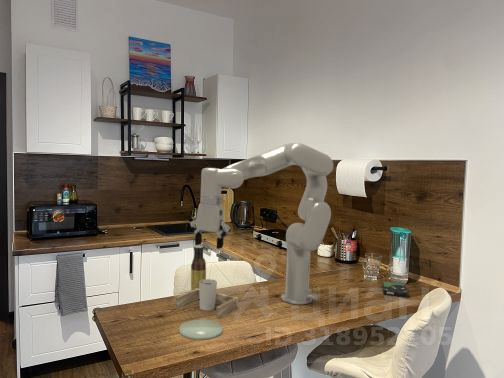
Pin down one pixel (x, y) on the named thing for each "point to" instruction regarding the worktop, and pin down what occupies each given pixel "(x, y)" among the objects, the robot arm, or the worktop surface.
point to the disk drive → (395, 289)
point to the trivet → (201, 329)
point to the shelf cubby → (223, 300)
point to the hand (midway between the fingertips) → (208, 246)
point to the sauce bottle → (198, 267)
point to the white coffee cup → (207, 294)
